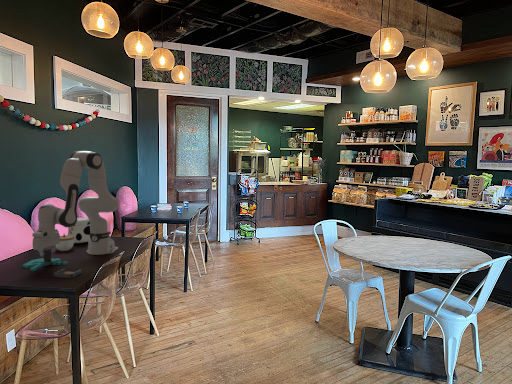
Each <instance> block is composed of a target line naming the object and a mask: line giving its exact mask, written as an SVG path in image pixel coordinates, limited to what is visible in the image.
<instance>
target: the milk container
mask: <svg viewBox="0 0 512 384" xmlns="http://www.w3.org/2000/svg"><path fill="white" fill-rule="evenodd" d="M67 229H68V230H67V231H68V233H67V235H70V236H74V245H79V244H80V245H81V244H87V243H88V242H89V240H90V221H89V219H88V217H87V218H85V217H80V218H78V217H77V222H76V224H75V225H73V226H72V227H67Z"/></svg>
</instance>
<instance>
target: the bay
mask: <svg viewBox="0 0 512 384" xmlns="http://www.w3.org/2000/svg"><path fill="white" fill-rule="evenodd" d="M82 271H83V270H82V269H78V270H77V271H73V272H74V273H72V274H66V273H64V272H66V268H62V269H60V270H57V271H54V272H53V273H52V277H53V278H67V279H73V278H74V277H77V276H79V275H81V274H82Z"/></svg>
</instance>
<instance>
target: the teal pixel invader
mask: <svg viewBox="0 0 512 384" xmlns="http://www.w3.org/2000/svg"><path fill="white" fill-rule="evenodd" d="M43 260H44V257H43V258H42V257H41V258H37V259H32V260H30V261H29V260H28V261H27V262H25V263H23V264H22V268H24V269H29V270H30V272H36V271H37V270H39V269H40V268H42V267H46V266H51V265H52V266H56V265H57V266H60V265H61V266H67V265H69V264H68V261H62V259H61V258H59V257H58V258H53V257H51V260H55V262H53V263H40V262H41V261H43Z"/></svg>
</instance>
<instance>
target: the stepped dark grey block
mask: <svg viewBox="0 0 512 384" xmlns="http://www.w3.org/2000/svg"><path fill="white" fill-rule="evenodd" d="M51 249H52V248H51ZM51 249H50V248H49V249H48V248H44V249H43V253H44V256H43V259H44V260H43V261H41V262H40V263H53V262H55V260H51V258H52V252H51Z"/></svg>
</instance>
